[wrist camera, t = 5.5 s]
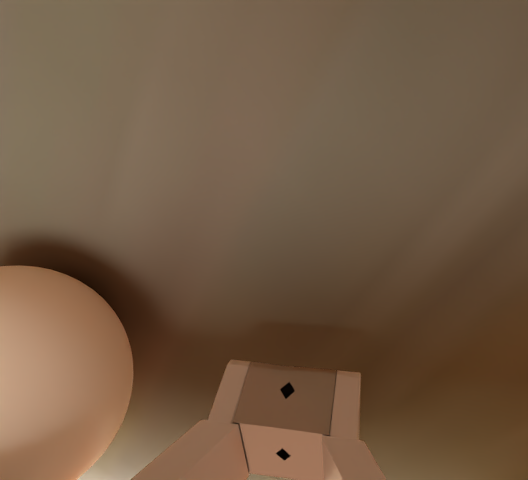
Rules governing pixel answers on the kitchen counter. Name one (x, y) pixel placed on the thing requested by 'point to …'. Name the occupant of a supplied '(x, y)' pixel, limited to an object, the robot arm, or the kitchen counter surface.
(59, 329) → the cue ball
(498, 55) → the kitchen counter surface
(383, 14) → the kitchen counter surface
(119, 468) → the kitchen counter surface
